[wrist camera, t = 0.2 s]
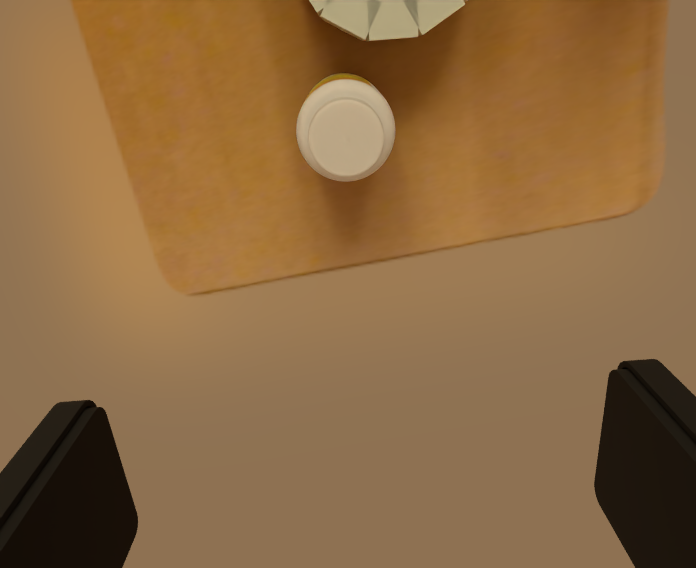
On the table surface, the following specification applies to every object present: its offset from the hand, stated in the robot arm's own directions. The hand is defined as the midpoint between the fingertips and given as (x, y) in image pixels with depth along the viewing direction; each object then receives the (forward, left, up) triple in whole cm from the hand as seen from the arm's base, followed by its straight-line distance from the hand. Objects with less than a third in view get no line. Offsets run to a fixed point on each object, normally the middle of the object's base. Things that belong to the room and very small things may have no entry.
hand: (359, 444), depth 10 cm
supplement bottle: (-2, 0, -31) cm, 31 cm away
